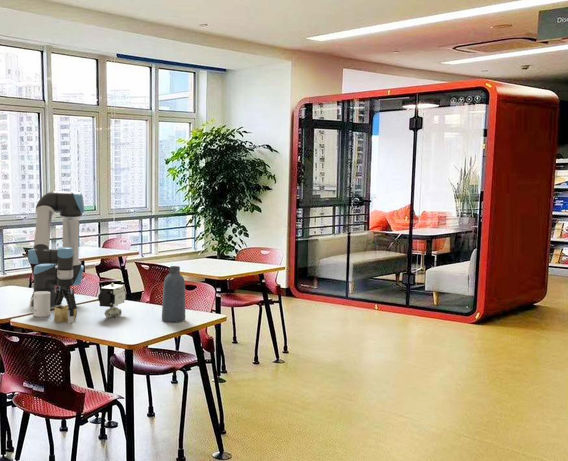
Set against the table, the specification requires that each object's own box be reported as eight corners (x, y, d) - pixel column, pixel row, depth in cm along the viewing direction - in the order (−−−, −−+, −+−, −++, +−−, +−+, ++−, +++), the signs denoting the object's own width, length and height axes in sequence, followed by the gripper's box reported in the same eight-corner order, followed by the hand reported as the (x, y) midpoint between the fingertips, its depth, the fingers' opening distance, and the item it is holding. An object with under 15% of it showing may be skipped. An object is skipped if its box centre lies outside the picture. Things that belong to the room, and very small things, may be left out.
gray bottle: (159, 318, 326) (161, 265, 324) (182, 317, 331) (183, 265, 328) (163, 323, 315) (165, 268, 313) (187, 322, 319) (188, 268, 317)
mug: (34, 318, 315) (34, 295, 314) (24, 316, 319) (24, 293, 318) (54, 315, 324) (54, 292, 324) (43, 312, 329) (44, 290, 328)
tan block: (54, 320, 312) (54, 307, 312) (72, 318, 319) (72, 304, 319) (59, 322, 308) (60, 309, 308) (77, 320, 315) (78, 306, 314)
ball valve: (112, 320, 317) (113, 286, 315) (97, 319, 318) (97, 285, 317) (128, 313, 334) (128, 281, 333) (113, 312, 336) (114, 280, 335)
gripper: (46, 275, 317) (46, 316, 319) (69, 281, 300) (69, 325, 302) (60, 274, 323) (60, 315, 324) (84, 280, 306) (83, 323, 307)
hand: (64, 320), depth 313 cm, fingers open, 12 cm apart
